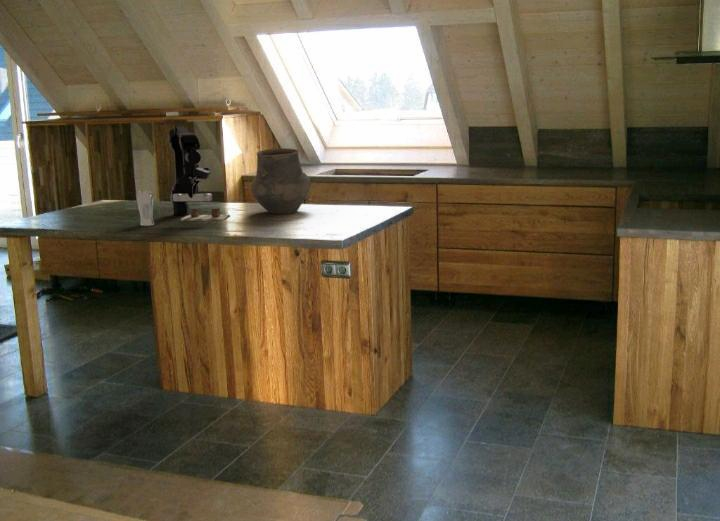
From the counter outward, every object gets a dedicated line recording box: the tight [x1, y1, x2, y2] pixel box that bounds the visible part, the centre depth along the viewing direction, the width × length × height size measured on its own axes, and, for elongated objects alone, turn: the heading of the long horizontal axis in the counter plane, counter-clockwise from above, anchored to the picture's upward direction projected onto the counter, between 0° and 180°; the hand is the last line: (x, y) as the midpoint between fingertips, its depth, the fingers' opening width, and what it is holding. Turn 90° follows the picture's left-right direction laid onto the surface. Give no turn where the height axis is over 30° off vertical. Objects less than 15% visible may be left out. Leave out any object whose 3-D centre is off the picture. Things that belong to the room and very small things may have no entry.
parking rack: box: [180, 207, 231, 222], centre depth 386 cm, size 20×11×5 cm, turn 81°
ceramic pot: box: [250, 148, 311, 215], centre depth 396 cm, size 28×28×30 cm
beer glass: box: [136, 190, 155, 227], centre depth 373 cm, size 7×7×15 cm
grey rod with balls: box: [173, 192, 213, 202], centre depth 372 cm, size 18×4×3 cm, turn 81°
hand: (192, 197), depth 372 cm, fingers closed on grey rod with balls, 3 cm apart
